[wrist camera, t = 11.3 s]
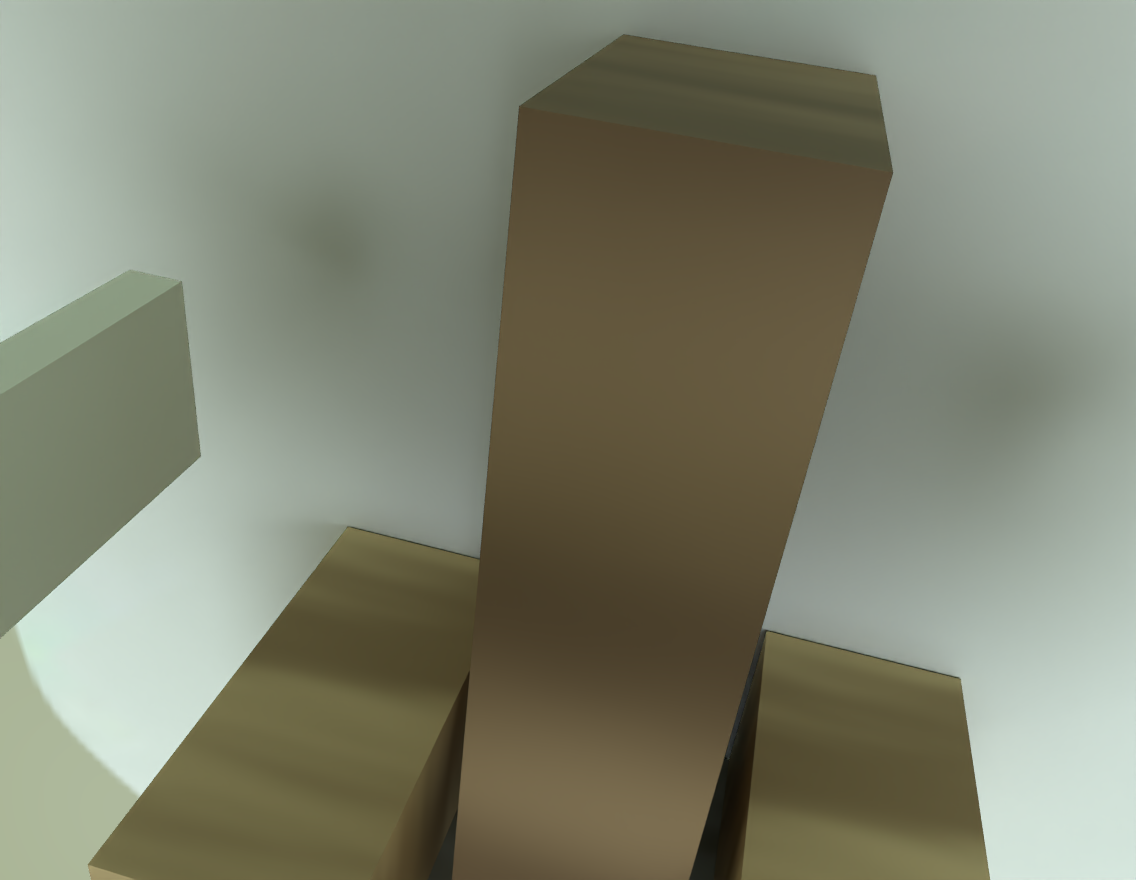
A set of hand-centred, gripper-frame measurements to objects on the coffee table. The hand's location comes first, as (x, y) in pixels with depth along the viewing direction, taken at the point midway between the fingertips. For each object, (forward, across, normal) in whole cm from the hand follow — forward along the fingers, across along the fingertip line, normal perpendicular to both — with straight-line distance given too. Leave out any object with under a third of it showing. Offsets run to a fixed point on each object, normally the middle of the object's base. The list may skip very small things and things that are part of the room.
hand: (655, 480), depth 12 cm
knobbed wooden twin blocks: (+6, 0, -9) cm, 11 cm away
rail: (+6, 0, -3) cm, 7 cm away
